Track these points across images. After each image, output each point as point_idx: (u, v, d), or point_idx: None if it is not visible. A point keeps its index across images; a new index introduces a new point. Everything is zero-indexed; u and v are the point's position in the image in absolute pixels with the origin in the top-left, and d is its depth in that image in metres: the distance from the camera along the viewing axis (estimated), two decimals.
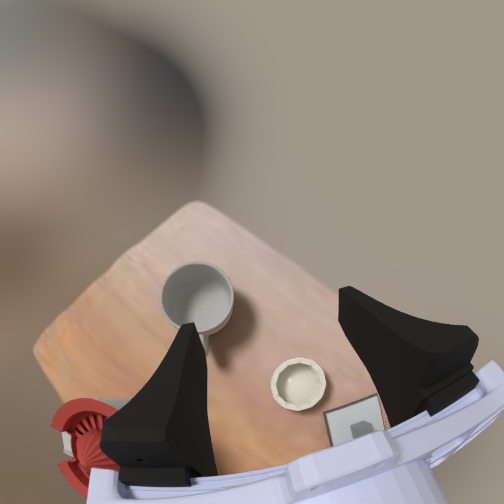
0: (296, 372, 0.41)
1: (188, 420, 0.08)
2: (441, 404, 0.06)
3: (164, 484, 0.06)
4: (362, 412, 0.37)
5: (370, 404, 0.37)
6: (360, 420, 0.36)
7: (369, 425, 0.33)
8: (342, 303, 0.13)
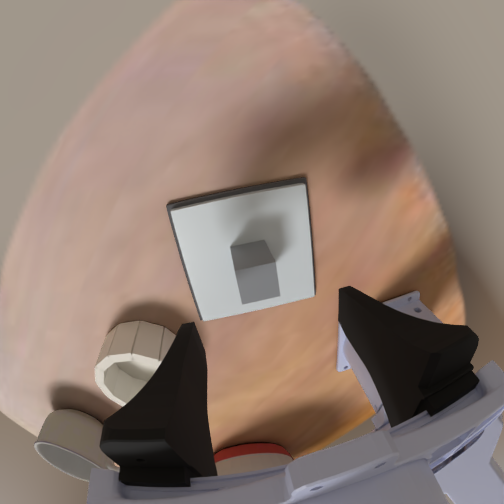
0: None
1: (188, 420, 0.08)
2: (441, 404, 0.06)
3: (164, 484, 0.06)
4: (208, 249, 0.19)
5: (191, 230, 0.18)
6: (228, 253, 0.19)
7: (239, 274, 0.16)
8: (342, 303, 0.13)
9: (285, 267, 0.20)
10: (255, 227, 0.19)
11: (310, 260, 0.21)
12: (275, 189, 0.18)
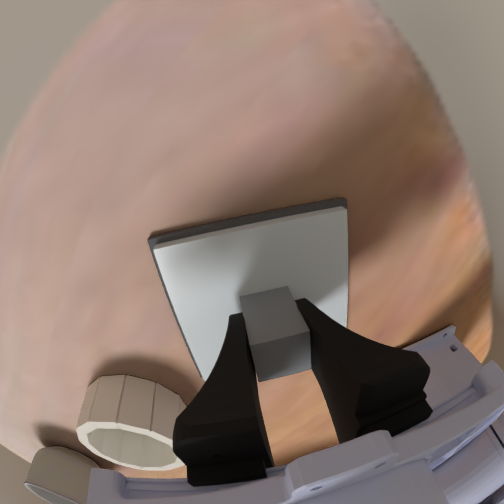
0: None
1: (258, 409, 0.08)
2: None
3: (240, 479, 0.06)
4: (209, 300, 0.13)
5: (184, 275, 0.13)
6: (237, 305, 0.14)
7: (256, 349, 0.11)
8: None
9: None
10: (275, 270, 0.13)
11: (345, 307, 0.15)
12: (306, 216, 0.12)
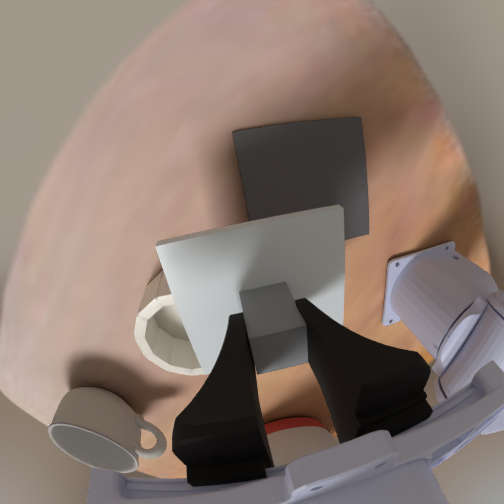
0: (169, 310, 0.22)
1: (258, 409, 0.08)
2: None
3: (239, 479, 0.06)
4: (210, 295, 0.14)
5: (185, 271, 0.13)
6: (237, 300, 0.14)
7: (255, 343, 0.11)
8: None
9: None
10: (274, 266, 0.14)
11: (341, 303, 0.15)
12: (304, 214, 0.13)
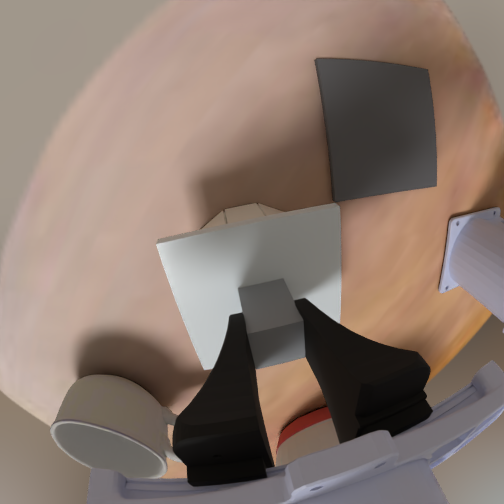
0: None
1: (258, 409, 0.08)
2: None
3: (239, 479, 0.06)
4: (209, 291, 0.14)
5: (185, 268, 0.13)
6: (236, 296, 0.15)
7: (253, 338, 0.11)
8: None
9: None
10: (272, 263, 0.14)
11: (338, 299, 0.16)
12: (301, 212, 0.13)
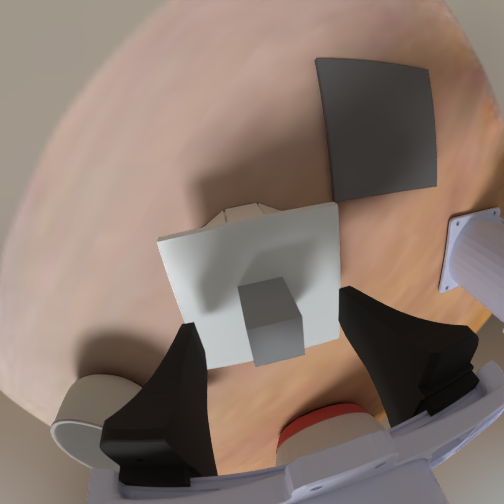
0: None
1: (188, 420, 0.08)
2: (441, 404, 0.06)
3: (163, 484, 0.06)
4: (209, 290, 0.14)
5: (186, 266, 0.14)
6: (236, 295, 0.15)
7: (252, 334, 0.11)
8: (342, 303, 0.13)
9: (307, 309, 0.16)
10: (271, 261, 0.14)
11: (338, 298, 0.16)
12: (299, 211, 0.13)
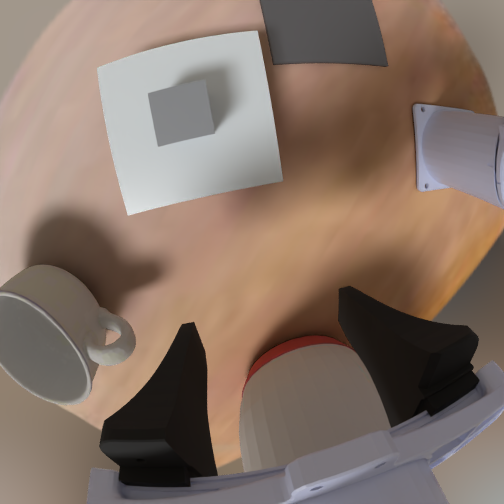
0: None
1: (188, 420, 0.08)
2: (441, 404, 0.06)
3: (164, 484, 0.06)
4: (135, 107, 0.12)
5: (117, 85, 0.12)
6: None
7: (154, 99, 0.10)
8: (342, 303, 0.13)
9: (236, 131, 0.14)
10: (194, 76, 0.12)
11: (272, 124, 0.14)
12: None
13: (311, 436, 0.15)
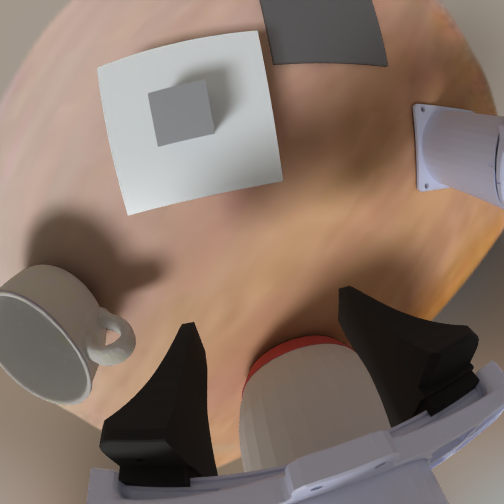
0: None
1: (188, 420, 0.08)
2: (441, 404, 0.06)
3: (164, 484, 0.06)
4: (135, 107, 0.12)
5: (117, 85, 0.12)
6: None
7: (154, 99, 0.10)
8: (342, 303, 0.13)
9: (236, 131, 0.14)
10: (194, 76, 0.12)
11: (272, 124, 0.14)
12: None
13: (311, 436, 0.15)
